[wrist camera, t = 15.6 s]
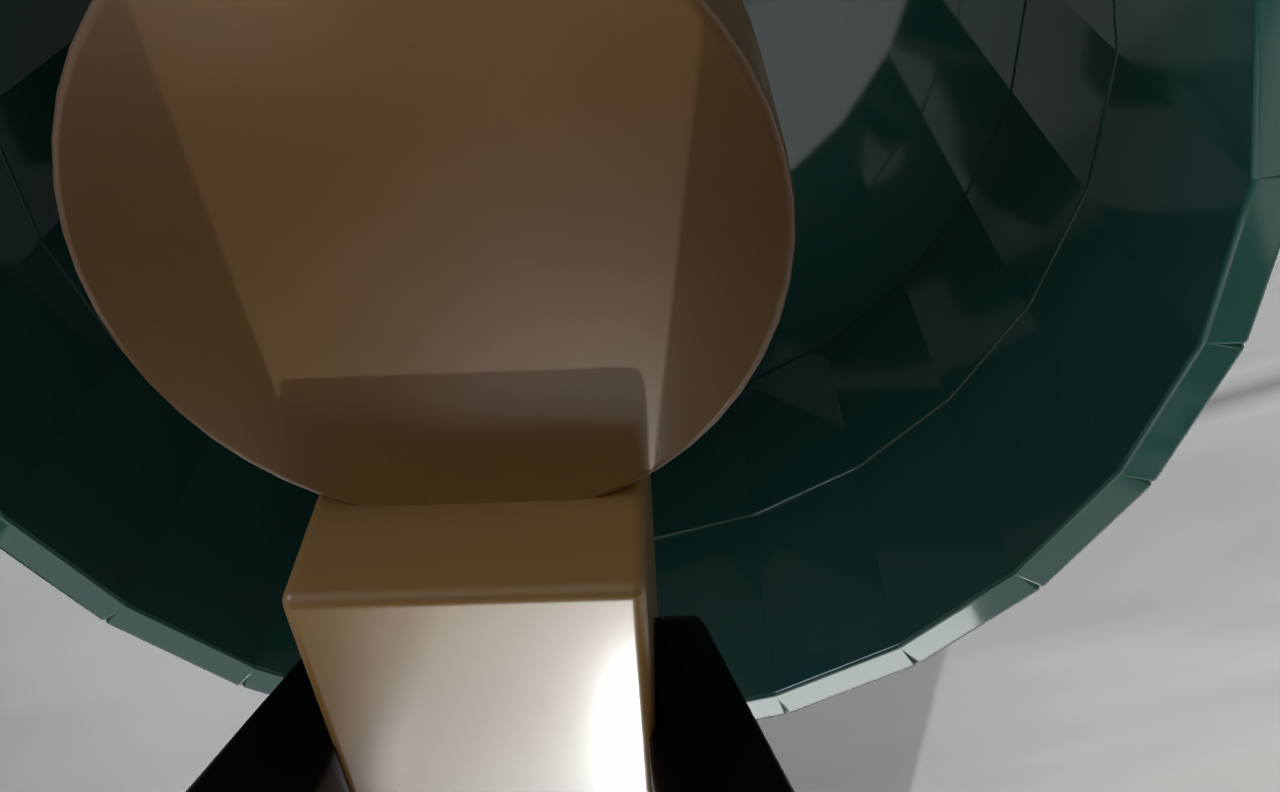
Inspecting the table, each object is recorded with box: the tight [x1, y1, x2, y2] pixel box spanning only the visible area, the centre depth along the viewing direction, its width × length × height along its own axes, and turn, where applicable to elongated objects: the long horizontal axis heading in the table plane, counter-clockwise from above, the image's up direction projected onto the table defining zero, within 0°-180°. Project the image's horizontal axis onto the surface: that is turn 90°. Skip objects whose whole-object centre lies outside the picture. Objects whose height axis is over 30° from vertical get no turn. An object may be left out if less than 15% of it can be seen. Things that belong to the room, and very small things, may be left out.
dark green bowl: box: [0, 0, 1280, 720], centre depth 13 cm, size 15×15×8 cm
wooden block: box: [51, 0, 796, 792], centre depth 8 cm, size 10×4×2 cm, turn 3°
